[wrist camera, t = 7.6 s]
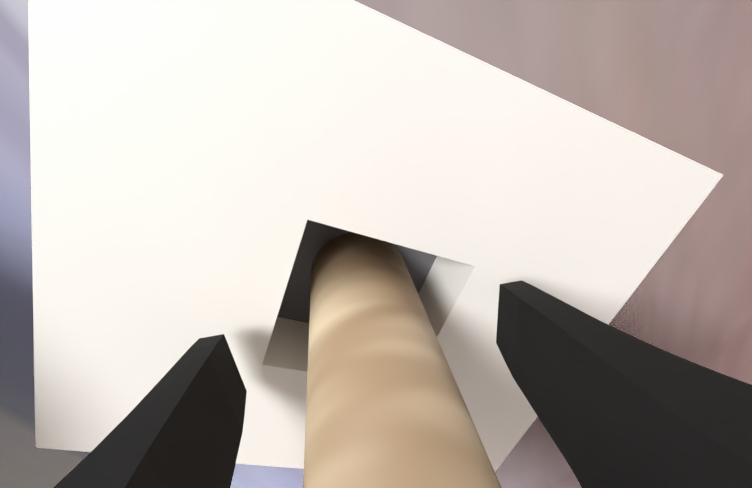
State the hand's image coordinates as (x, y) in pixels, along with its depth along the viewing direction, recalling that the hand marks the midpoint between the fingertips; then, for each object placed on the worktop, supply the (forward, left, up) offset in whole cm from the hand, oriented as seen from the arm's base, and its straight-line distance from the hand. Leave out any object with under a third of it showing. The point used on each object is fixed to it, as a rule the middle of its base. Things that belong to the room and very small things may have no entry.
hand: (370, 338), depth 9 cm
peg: (0, 0, -3) cm, 3 cm away
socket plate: (0, 0, -3) cm, 3 cm away
